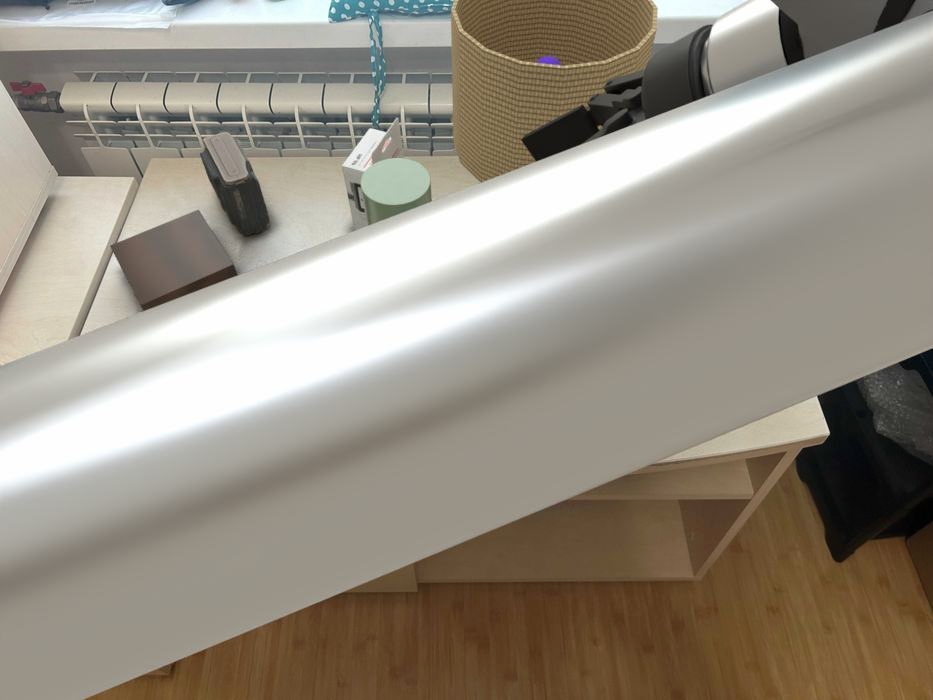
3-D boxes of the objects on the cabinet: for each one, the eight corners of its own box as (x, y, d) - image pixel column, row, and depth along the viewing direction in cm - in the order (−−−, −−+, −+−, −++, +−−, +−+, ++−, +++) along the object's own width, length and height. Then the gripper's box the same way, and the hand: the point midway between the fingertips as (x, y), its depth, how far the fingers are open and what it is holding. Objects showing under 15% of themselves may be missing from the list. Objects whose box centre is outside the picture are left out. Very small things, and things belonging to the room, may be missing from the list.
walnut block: (155, 330, 87) (140, 305, 83) (125, 271, 93) (109, 245, 89) (244, 289, 91) (233, 264, 87) (209, 235, 97) (198, 209, 92)
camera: (275, 229, 97) (257, 173, 89) (235, 242, 96) (214, 187, 88) (251, 181, 103) (233, 124, 95) (213, 193, 102) (191, 136, 93)
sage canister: (393, 293, 64) (382, 214, 56) (362, 254, 67) (347, 174, 59) (446, 266, 66) (444, 187, 58) (414, 229, 69) (407, 149, 61)
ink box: (377, 192, 102) (366, 106, 90) (408, 201, 101) (401, 115, 89) (352, 231, 97) (336, 146, 85) (384, 240, 96) (373, 155, 84)
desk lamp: (455, 320, 88) (451, 69, 59) (455, 213, 99) (450, -42, 70) (608, 318, 88) (677, 67, 59) (590, 212, 99) (640, -43, 71)
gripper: (689, 288, 33) (435, 341, 49) (826, 39, 45) (585, 149, 62) (606, 160, 30) (366, 262, 47) (775, -67, 42) (538, 78, 59)
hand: (491, 198), depth 54 cm, fingers open, 13 cm apart
